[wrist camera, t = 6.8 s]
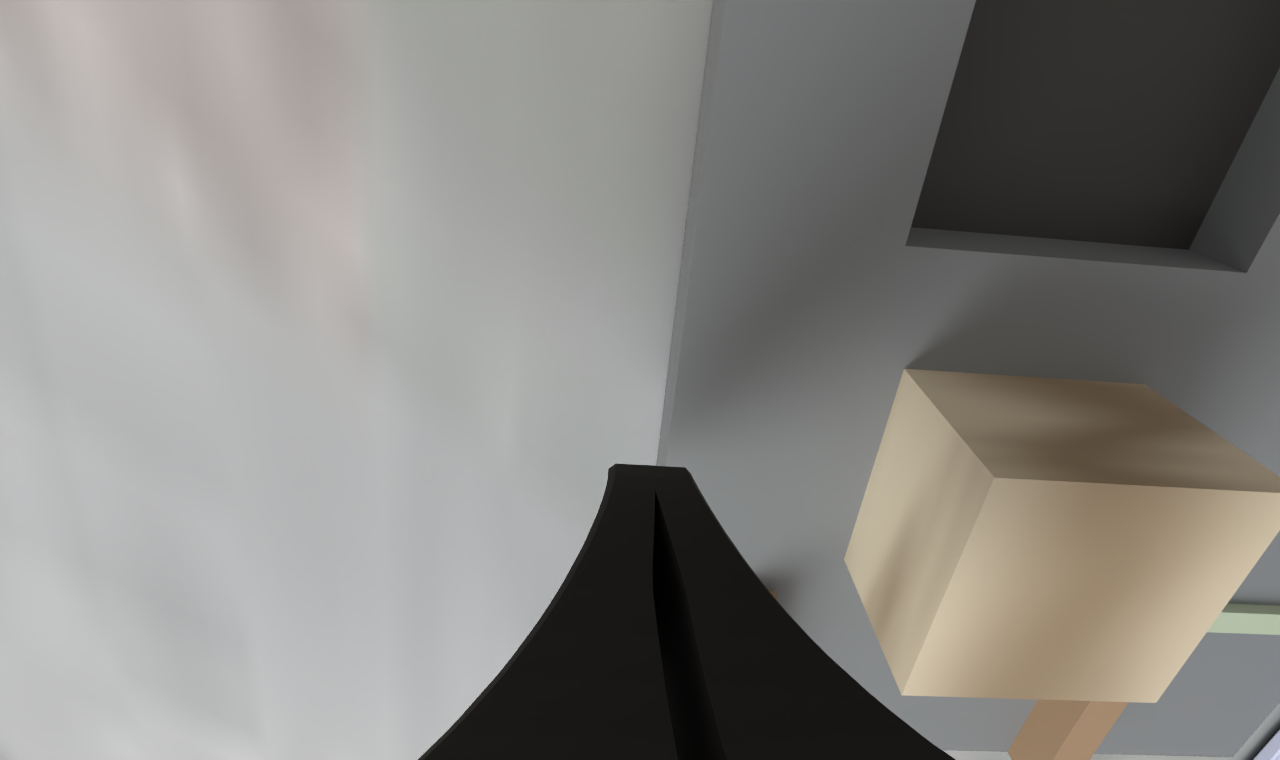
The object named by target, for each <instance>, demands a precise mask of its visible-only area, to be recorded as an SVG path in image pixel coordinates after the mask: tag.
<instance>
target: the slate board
mask: <svg viewBox="0 0 1280 760" xmlns="http://www.w3.org/2000/svg"><path fill="white" fill-rule="evenodd" d="M904 369H916V370H932V371H947V372H963V373H978V374H993V375H1009V376H1024V377H1039V378H1055V379H1070V380H1086V381H1101V382H1116V383H1132V384H1145V385H1147V386H1148V387H1150V388H1151V389H1153V390H1154V391H1155V392H1157V393H1158V394H1160V395H1161V396H1163V397H1164V398H1166V399H1167V400H1169V401H1170V402H1171V403H1173V404H1174V405H1176V406H1177V407H1179V408H1180V409H1182V410H1183V411H1185V412H1186V413H1188V414H1189V415H1190V416H1192V417H1193V418H1195V419H1196V420H1198V421H1199V422H1201V423H1202V424H1204V425H1205V426H1206V427H1208V428H1209V429H1211V430H1212V431H1214V432H1215V433H1217V434H1218V435H1220V436H1221V437H1223V438H1224V439H1225V440H1227V441H1228V442H1230V443H1231V444H1233V445H1234V446H1236V447H1237V448H1239V449H1240V450H1241V451H1243V452H1244V453H1246V454H1247V455H1249V456H1250V457H1252V458H1253V459H1255V460H1256V461H1258V462H1259V463H1260V464H1262V465H1263V466H1265V467H1266V468H1268V469H1269V470H1271V471H1272V472H1274V473H1275V474H1276V475H1278V476H1279V477H1280V0H713V7H712V16H711V24H710V32H709V40H708V48H707V57H706V65H705V73H704V81H703V89H702V97H701V106H700V114H699V122H698V130H697V138H696V146H695V155H694V163H693V171H692V179H691V187H690V195H689V204H688V212H687V220H686V228H685V236H684V244H683V253H682V261H681V269H680V277H679V285H678V293H677V302H676V310H675V318H674V326H673V334H672V342H671V351H670V359H669V367H668V375H667V383H666V391H665V400H664V408H663V416H662V424H661V432H660V441H659V449H658V457H657V465H656V466H669V467H686V469H687V470H688V471H689V472H690V473H691V475H692V477H693V479H694V481H695V482H696V484H697V486H698V488H699V490H700V492H701V493H702V495H703V497H704V498H705V500H706V502H707V504H708V505H709V507H710V508H711V510H712V512H713V513H714V515H715V517H716V518H717V520H718V521H719V523H720V524H721V526H722V527H723V529H724V530H725V532H726V533H727V535H728V536H729V538H730V539H731V541H732V542H733V543H734V545H735V546H736V548H737V549H738V551H739V552H740V554H741V555H742V556H743V558H744V559H745V561H746V562H747V563H748V565H749V566H750V567H751V569H752V570H753V571H754V573H755V574H756V575H757V576H758V578H759V579H760V580H761V581H762V583H763V584H764V585H765V587H766V588H767V589H768V590H769V592H770V593H771V594H772V595H773V596H774V598H775V599H776V600H777V601H778V602H779V604H780V605H781V606H782V607H783V608H784V609H785V610H786V612H787V613H788V614H789V615H790V616H791V617H792V618H793V619H794V621H795V622H796V623H797V624H798V625H799V626H800V627H801V628H802V629H803V630H804V631H805V632H806V634H807V635H808V636H809V637H810V638H811V639H812V640H813V641H814V642H815V643H816V644H817V645H818V646H819V647H820V648H821V649H822V650H823V651H824V652H825V653H826V654H827V655H828V656H829V657H830V658H831V659H833V660H834V661H835V662H836V663H837V664H838V665H839V666H840V667H841V668H842V669H844V670H845V671H846V672H847V673H848V674H849V675H850V676H851V677H852V678H853V679H855V680H856V681H857V682H858V683H859V684H860V685H861V686H862V687H863V688H865V689H866V690H867V691H868V692H869V693H870V694H871V695H872V696H874V697H875V698H876V699H877V700H878V701H880V702H881V703H882V704H883V705H884V706H885V707H887V708H888V709H889V710H890V711H892V712H893V713H894V714H895V715H897V716H898V717H899V718H900V719H902V720H903V721H904V722H906V723H907V724H908V725H909V726H911V727H912V728H913V729H914V730H916V731H917V732H918V733H919V734H921V735H922V736H923V737H924V738H926V739H927V740H928V741H930V742H931V743H932V744H934V745H935V746H937V747H938V748H939V749H941V750H959V751H1000V752H1008V753H1009V755H1010V757H1011V759H1012V760H1090V758H1091V757H1092V755H1093V754H1124V755H1166V756H1207V757H1233V756H1234V755H1235V754H1236V753H1237V752H1238V751H1239V749H1240V748H1241V747H1242V746H1243V745H1244V744H1245V742H1246V741H1247V740H1248V739H1249V738H1250V737H1251V735H1252V734H1253V733H1254V732H1255V731H1256V730H1257V728H1258V727H1259V726H1260V725H1261V724H1262V723H1263V721H1264V720H1265V719H1266V718H1267V717H1268V716H1269V714H1270V713H1271V712H1272V711H1273V710H1274V709H1275V707H1276V706H1277V705H1278V704H1279V703H1280V531H1279V532H1278V533H1277V535H1276V536H1275V538H1274V539H1273V540H1272V542H1271V543H1270V545H1269V546H1268V547H1267V549H1266V550H1265V552H1264V553H1263V554H1262V556H1261V557H1260V559H1259V560H1258V561H1257V563H1256V564H1255V566H1254V567H1253V568H1252V570H1251V571H1250V573H1249V574H1248V575H1247V577H1246V578H1245V580H1244V581H1243V582H1242V584H1241V585H1240V587H1239V588H1238V589H1237V591H1236V592H1235V593H1234V595H1233V596H1232V598H1231V599H1230V600H1229V602H1228V603H1227V605H1226V606H1225V607H1224V609H1223V610H1222V612H1221V613H1220V614H1219V616H1218V617H1217V619H1216V620H1215V621H1214V623H1213V624H1212V626H1211V627H1210V628H1209V630H1208V631H1207V633H1206V634H1205V635H1204V637H1203V638H1202V640H1201V641H1200V642H1199V644H1198V645H1197V647H1196V648H1195V649H1194V651H1193V652H1192V654H1191V655H1190V656H1189V658H1188V659H1187V661H1186V662H1185V663H1184V665H1183V666H1182V667H1181V669H1180V670H1179V672H1178V673H1177V674H1176V676H1175V677H1174V679H1173V680H1172V681H1171V683H1170V684H1169V686H1168V687H1167V688H1166V690H1165V691H1164V693H1163V694H1162V695H1161V697H1160V698H1159V700H1158V701H1157V702H1156V703H1141V702H1108V701H1074V700H1040V699H1006V698H972V697H939V696H905V695H901V693H900V691H899V688H898V686H897V683H896V681H895V679H894V676H893V674H892V672H891V669H890V667H889V665H888V662H887V660H886V657H885V655H884V653H883V650H882V648H881V646H880V643H879V641H878V639H877V636H876V634H875V631H874V629H873V627H872V624H871V622H870V620H869V617H868V615H867V613H866V610H865V608H864V605H863V603H862V601H861V598H860V596H859V594H858V591H857V589H856V587H855V584H854V582H853V579H852V577H851V575H850V572H849V570H848V568H847V565H846V563H845V561H844V558H845V555H846V552H847V548H848V545H849V542H850V539H851V536H852V533H853V529H854V526H855V523H856V520H857V517H858V514H859V510H860V507H861V504H862V501H863V498H864V494H865V491H866V488H867V485H868V482H869V479H870V475H871V472H872V469H873V466H874V463H875V459H876V456H877V453H878V450H879V447H880V444H881V440H882V437H883V434H884V431H885V428H886V424H887V421H888V418H889V415H890V412H891V409H892V405H893V402H894V399H895V396H896V393H897V389H898V386H899V383H900V380H901V377H902V374H903V370H904Z"/></svg>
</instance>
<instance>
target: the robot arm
mask: <svg viewBox="0 0 1280 760" xmlns="http://www.w3.org/2000/svg"><path fill="white" fill-rule="evenodd" d="M418 760H955V759H954V758H952V757H951V756H949V755H948V754H947V753H945V752H944V751H942V750H941V749H939V748H938V747H937V746H935V745H934V744H932V743H931V742H930V741H928V740H927V739H926V738H924V737H923V736H922V735H921V734H919V733H918V732H917V731H916V730H914V729H913V728H912V727H911V726H909V725H908V724H907V723H906V722H904V721H903V720H902V719H900V718H899V717H898V716H897V715H895V714H894V713H893V712H892V711H890V710H889V709H888V708H887V707H885V706H884V705H883V704H882V703H881V702H880V701H878V700H877V699H876V698H875V697H874V696H872V695H871V694H870V693H869V692H868V691H867V690H866V689H865V688H863V687H862V686H861V685H860V684H859V683H858V682H857V681H856V680H855V679H853V678H852V677H851V676H850V675H849V674H848V673H847V672H846V671H845V670H844V669H842V668H841V667H840V666H839V665H838V664H837V663H836V662H835V661H834V660H833V659H831V658H830V657H829V656H828V655H827V654H826V653H825V652H824V651H823V650H822V649H821V648H820V647H819V646H818V645H817V644H816V643H815V642H814V641H813V640H812V639H811V638H810V637H809V636H808V635H807V634H806V632H805V631H804V630H803V629H802V628H801V627H800V626H799V625H798V624H797V623H796V622H795V621H794V619H793V618H792V617H791V616H790V615H789V614H788V613H787V612H786V610H785V609H784V608H783V607H782V606H781V605H780V604H779V602H778V601H777V600H776V599H775V598H774V596H773V595H772V594H771V593H770V592H769V590H768V589H767V588H766V587H765V585H764V584H763V583H762V581H761V580H760V579H759V578H758V576H757V575H756V574H755V573H754V571H753V570H752V569H751V567H750V566H749V565H748V563H747V562H746V561H745V559H744V558H743V556H742V555H741V554H740V552H739V551H738V549H737V548H736V546H735V545H734V543H733V542H732V541H731V539H730V538H729V536H728V535H727V533H726V532H725V530H724V529H723V527H722V526H721V524H720V523H719V521H718V520H717V518H716V517H715V515H714V513H713V512H712V510H711V508H710V507H709V505H708V504H707V502H706V500H705V498H704V497H703V495H702V493H701V492H700V490H699V488H698V486H697V484H696V482H695V481H694V479H693V477H692V475H691V473H690V472H689V471H688V470H687V469H686V467H669V466H649V465H630V464H615V465H613V466H612V467H611V468H609V471H608V481H607V486H606V490H605V493H604V496H603V500H602V502H601V505H600V508H599V511H598V513H597V516H596V518H595V520H594V523H593V525H592V527H591V529H590V532H589V534H588V536H587V539H586V541H585V543H584V545H583V547H582V549H581V551H580V553H579V554H578V556H577V558H576V560H575V562H574V564H573V566H572V567H571V569H570V571H569V573H568V575H567V577H566V578H565V580H564V582H563V584H562V585H561V587H560V589H559V590H558V592H557V593H556V595H555V597H554V598H553V600H552V601H551V603H550V605H549V606H548V608H547V609H546V611H545V612H544V614H543V615H542V617H541V618H540V620H539V621H538V622H537V624H536V625H535V627H534V628H533V630H532V631H531V632H530V634H529V635H528V636H527V638H526V639H525V640H524V642H523V643H522V644H521V646H520V647H519V648H518V650H517V651H516V652H515V654H514V655H513V656H512V658H511V659H510V660H509V661H508V663H507V664H506V665H505V666H504V668H503V669H502V670H501V671H500V673H499V674H498V675H497V676H496V677H495V679H494V680H493V681H492V682H491V683H490V684H489V685H488V686H487V688H486V689H485V690H484V691H483V692H482V693H481V694H480V695H479V697H478V698H477V699H476V700H475V701H474V702H473V703H472V704H471V706H470V707H469V708H468V709H467V710H466V711H465V712H464V714H463V715H462V716H461V717H460V718H459V719H458V720H457V721H456V722H455V723H454V724H453V725H452V727H451V728H450V729H449V730H448V731H447V732H446V733H445V734H444V735H443V736H442V737H441V738H440V739H439V740H438V741H437V742H436V743H435V744H434V745H433V746H431V747H430V748H429V749H428V750H427V751H426V752H425V753H424V754H423V755H422V756H421V757H420V758H419V759H418ZM1253 760H1280V730H1279V731H1278V732H1277V733H1276V734H1275V735H1274V736H1273V738H1272V739H1271V740H1270V741H1269V742H1268V743H1267V744H1266V745H1265V747H1264V748H1263V749H1262V750H1261V751H1260V752H1259V753H1258V755H1257V756H1256V757H1255V758H1254V759H1253Z"/></svg>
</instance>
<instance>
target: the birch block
mask: <svg viewBox="0 0 1280 760" xmlns="http://www.w3.org/2000/svg"><path fill="white" fill-rule="evenodd" d="M1279 531H1280V477H1279V476H1278V475H1276V474H1275V473H1274V472H1272V471H1271V470H1269V469H1268V468H1266V467H1265V466H1263V465H1262V464H1260V463H1259V462H1258V461H1256V460H1255V459H1253V458H1252V457H1250V456H1249V455H1247V454H1246V453H1244V452H1243V451H1241V450H1240V449H1239V448H1237V447H1236V446H1234V445H1233V444H1231V443H1230V442H1228V441H1227V440H1225V439H1224V438H1223V437H1221V436H1220V435H1218V434H1217V433H1215V432H1214V431H1212V430H1211V429H1209V428H1208V427H1206V426H1205V425H1204V424H1202V423H1201V422H1199V421H1198V420H1196V419H1195V418H1193V417H1192V416H1190V415H1189V414H1188V413H1186V412H1185V411H1183V410H1182V409H1180V408H1179V407H1177V406H1176V405H1174V404H1173V403H1171V402H1170V401H1169V400H1167V399H1166V398H1164V397H1163V396H1161V395H1160V394H1158V393H1157V392H1155V391H1154V390H1153V389H1151V388H1150V387H1148V386H1147V385H1145V384H1132V383H1116V382H1101V381H1086V380H1070V379H1055V378H1039V377H1024V376H1009V375H993V374H978V373H963V372H947V371H932V370H916V369H904V370H903V374H902V377H901V380H900V383H899V386H898V389H897V393H896V396H895V399H894V402H893V405H892V409H891V412H890V415H889V418H888V421H887V424H886V428H885V431H884V434H883V437H882V440H881V444H880V447H879V450H878V453H877V456H876V459H875V463H874V466H873V469H872V472H871V475H870V479H869V482H868V485H867V488H866V491H865V494H864V498H863V501H862V504H861V507H860V510H859V514H858V517H857V520H856V523H855V526H854V529H853V533H852V536H851V539H850V542H849V545H848V548H847V552H846V555H845V558H844V561H845V563H846V565H847V568H848V570H849V572H850V575H851V577H852V579H853V582H854V584H855V587H856V589H857V591H858V594H859V596H860V598H861V601H862V603H863V605H864V608H865V610H866V613H867V615H868V617H869V620H870V622H871V624H872V627H873V629H874V631H875V634H876V636H877V639H878V641H879V643H880V646H881V648H882V650H883V653H884V655H885V657H886V660H887V662H888V665H889V667H890V669H891V672H892V674H893V676H894V679H895V681H896V683H897V686H898V688H899V691H900V693H901V695H905V696H939V697H972V698H1006V699H1040V700H1074V701H1108V702H1141V703H1156V702H1157V701H1158V700H1159V698H1160V697H1161V695H1162V694H1163V693H1164V691H1165V690H1166V688H1167V687H1168V686H1169V684H1170V683H1171V681H1172V680H1173V679H1174V677H1175V676H1176V674H1177V673H1178V672H1179V670H1180V669H1181V667H1182V666H1183V665H1184V663H1185V662H1186V661H1187V659H1188V658H1189V656H1190V655H1191V654H1192V652H1193V651H1194V649H1195V648H1196V647H1197V645H1198V644H1199V642H1200V641H1201V640H1202V638H1203V637H1204V635H1205V634H1206V633H1207V631H1208V630H1209V628H1210V627H1211V626H1212V624H1213V623H1214V621H1215V620H1216V619H1217V617H1218V616H1219V614H1220V613H1221V612H1222V610H1223V609H1224V607H1225V606H1226V605H1227V603H1228V602H1229V600H1230V599H1231V598H1232V596H1233V595H1234V593H1235V592H1236V591H1237V589H1238V588H1239V587H1240V585H1241V584H1242V582H1243V581H1244V580H1245V578H1246V577H1247V575H1248V574H1249V573H1250V571H1251V570H1252V568H1253V567H1254V566H1255V564H1256V563H1257V561H1258V560H1259V559H1260V557H1261V556H1262V554H1263V553H1264V552H1265V550H1266V549H1267V547H1268V546H1269V545H1270V543H1271V542H1272V540H1273V539H1274V538H1275V536H1276V535H1277V533H1278V532H1279Z"/></svg>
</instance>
